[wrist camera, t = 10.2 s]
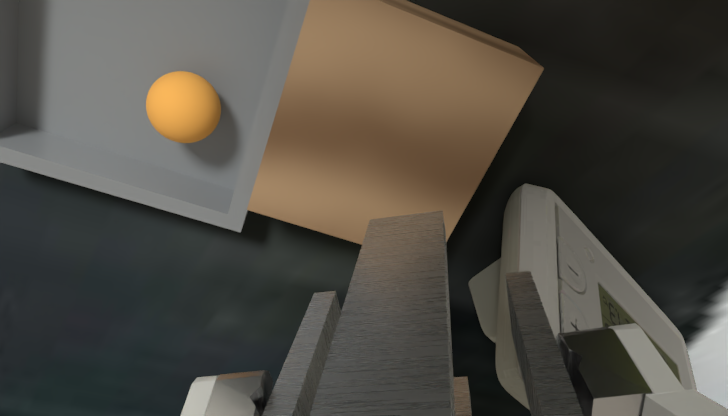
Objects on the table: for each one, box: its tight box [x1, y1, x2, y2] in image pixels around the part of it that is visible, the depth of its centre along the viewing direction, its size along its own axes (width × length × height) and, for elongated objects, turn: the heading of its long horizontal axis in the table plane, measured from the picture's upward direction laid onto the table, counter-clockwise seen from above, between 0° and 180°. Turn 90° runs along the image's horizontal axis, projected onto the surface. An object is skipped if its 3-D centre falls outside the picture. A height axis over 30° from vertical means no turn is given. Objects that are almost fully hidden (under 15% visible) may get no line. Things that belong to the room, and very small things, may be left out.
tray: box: [0, 0, 310, 233], centre depth 20 cm, size 14×12×2 cm
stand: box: [247, 0, 544, 245], centre depth 22 cm, size 10×9×4 cm
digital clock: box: [468, 183, 697, 410], centre depth 24 cm, size 16×9×11 cm, turn 33°
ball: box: [146, 71, 221, 143], centre depth 21 cm, size 3×3×3 cm
